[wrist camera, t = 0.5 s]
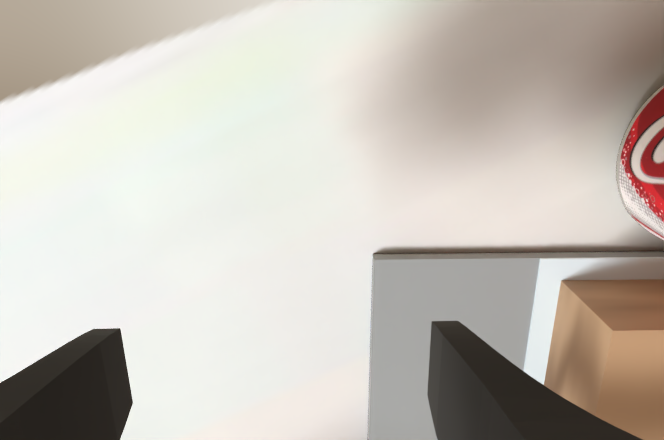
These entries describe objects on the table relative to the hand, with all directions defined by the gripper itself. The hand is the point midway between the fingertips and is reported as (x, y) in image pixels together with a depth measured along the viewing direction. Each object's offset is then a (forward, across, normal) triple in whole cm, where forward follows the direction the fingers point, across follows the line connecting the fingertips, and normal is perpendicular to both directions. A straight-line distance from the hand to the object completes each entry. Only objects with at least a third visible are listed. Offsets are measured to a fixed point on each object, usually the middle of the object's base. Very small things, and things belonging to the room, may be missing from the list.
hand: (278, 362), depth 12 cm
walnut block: (+9, -15, +6) cm, 18 cm away
